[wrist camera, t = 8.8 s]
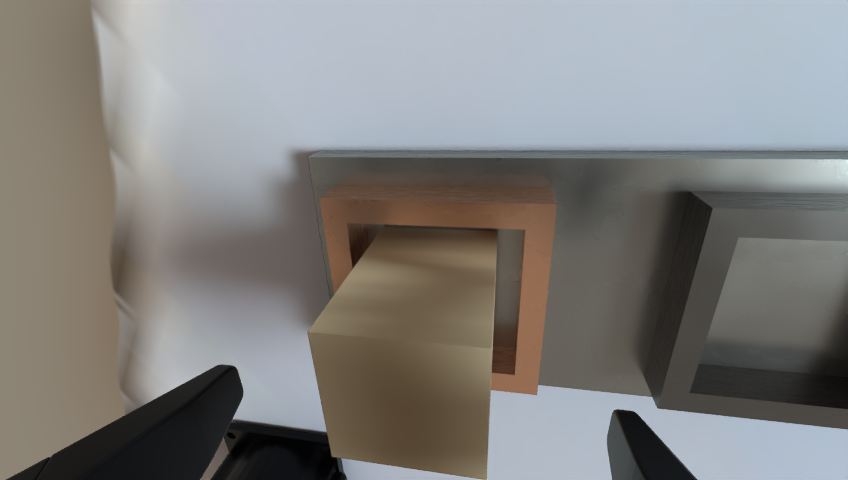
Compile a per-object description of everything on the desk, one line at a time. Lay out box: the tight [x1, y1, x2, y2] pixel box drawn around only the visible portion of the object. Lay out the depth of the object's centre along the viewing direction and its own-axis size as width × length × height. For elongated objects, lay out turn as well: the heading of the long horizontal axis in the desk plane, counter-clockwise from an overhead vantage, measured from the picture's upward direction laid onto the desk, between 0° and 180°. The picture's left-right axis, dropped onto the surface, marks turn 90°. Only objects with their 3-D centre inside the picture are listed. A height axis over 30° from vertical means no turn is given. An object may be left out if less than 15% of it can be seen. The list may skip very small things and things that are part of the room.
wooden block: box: [307, 227, 498, 480], centre depth 12 cm, size 4×4×6 cm
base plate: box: [308, 151, 848, 429], centre depth 13 cm, size 20×9×2 cm, turn 92°
